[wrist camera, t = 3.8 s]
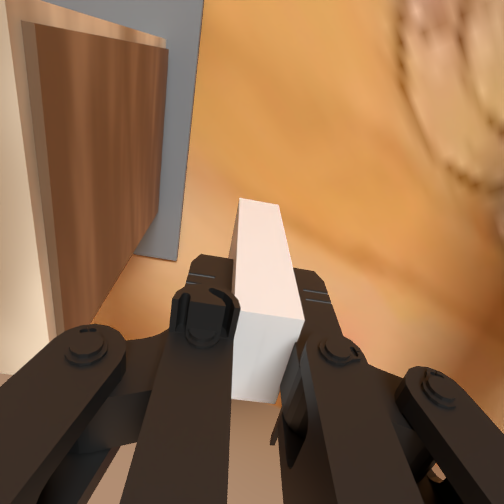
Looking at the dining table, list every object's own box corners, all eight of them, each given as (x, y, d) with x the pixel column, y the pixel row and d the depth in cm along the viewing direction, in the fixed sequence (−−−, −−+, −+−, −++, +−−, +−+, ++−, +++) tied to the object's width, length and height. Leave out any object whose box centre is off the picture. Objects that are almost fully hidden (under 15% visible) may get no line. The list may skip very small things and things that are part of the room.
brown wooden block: (171, 40, 21) (18, -8, 7) (159, 215, 27) (62, 380, 13) (100, 24, 20) (-215, -63, 7) (103, 205, 26) (-61, 366, 12)
